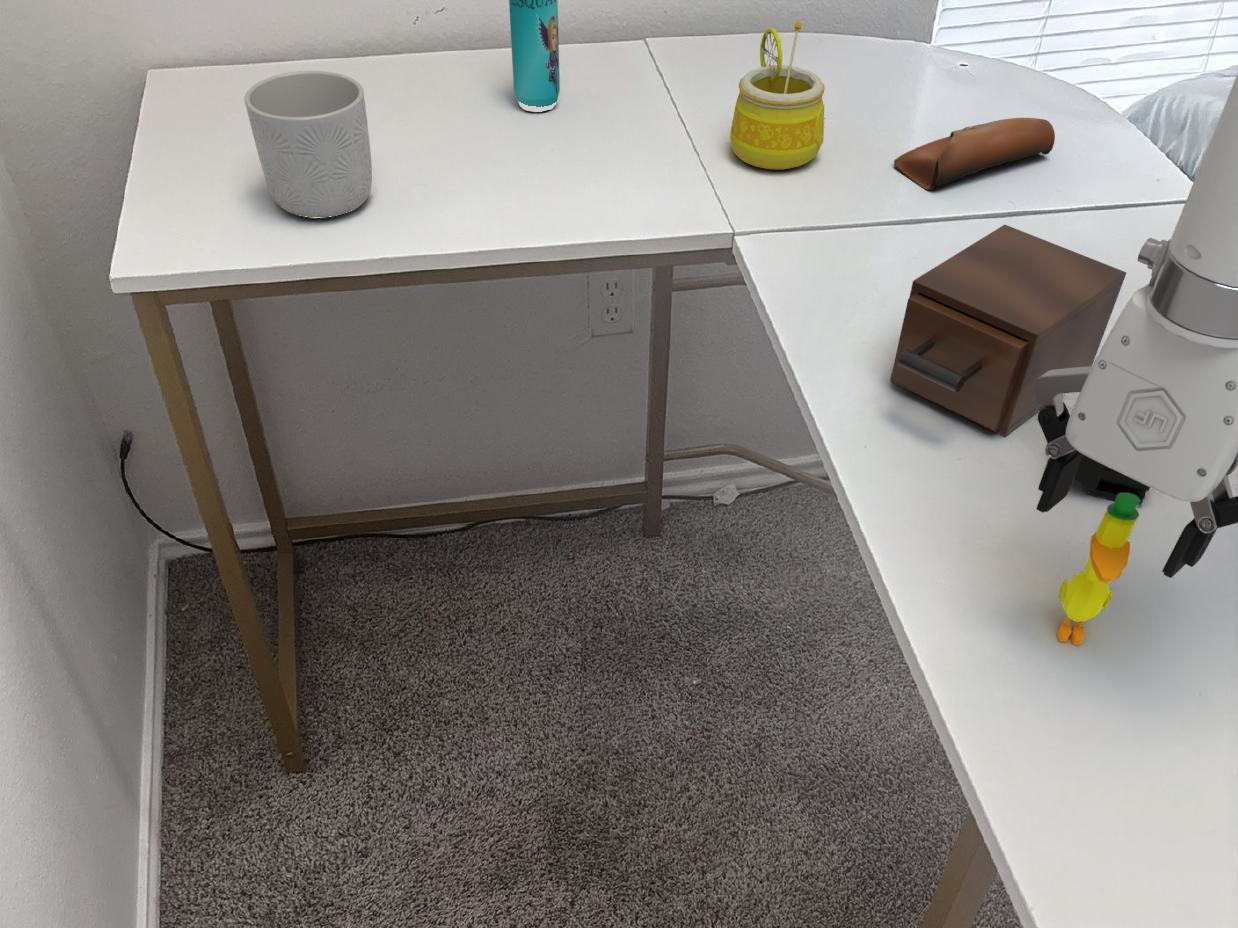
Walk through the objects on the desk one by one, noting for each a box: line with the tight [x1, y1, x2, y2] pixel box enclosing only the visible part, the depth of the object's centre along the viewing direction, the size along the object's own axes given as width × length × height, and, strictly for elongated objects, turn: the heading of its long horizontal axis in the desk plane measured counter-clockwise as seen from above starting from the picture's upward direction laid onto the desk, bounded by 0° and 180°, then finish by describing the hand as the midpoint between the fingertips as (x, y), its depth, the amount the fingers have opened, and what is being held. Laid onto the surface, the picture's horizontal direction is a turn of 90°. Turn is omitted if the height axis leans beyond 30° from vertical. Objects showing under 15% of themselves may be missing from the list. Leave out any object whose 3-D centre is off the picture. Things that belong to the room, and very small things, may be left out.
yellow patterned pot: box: [729, 21, 826, 171], centre depth 132 cm, size 13×11×12 cm
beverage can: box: [508, 0, 561, 107], centre depth 138 cm, size 6×6×15 cm
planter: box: [244, 70, 373, 217], centre depth 124 cm, size 12×12×11 cm
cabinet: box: [890, 224, 1127, 437], centre depth 104 cm, size 15×13×10 cm
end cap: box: [1074, 415, 1151, 506], centre depth 97 cm, size 10×7×7 cm
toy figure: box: [1056, 493, 1141, 646], centre depth 82 cm, size 7×4×12 cm, turn 164°
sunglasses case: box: [893, 117, 1056, 191], centre depth 133 cm, size 18×7×7 cm, turn 121°
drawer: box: [889, 294, 1028, 432], centre depth 102 cm, size 18×11×8 cm, turn 135°
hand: (1111, 534), depth 79 cm, fingers open, 9 cm apart
